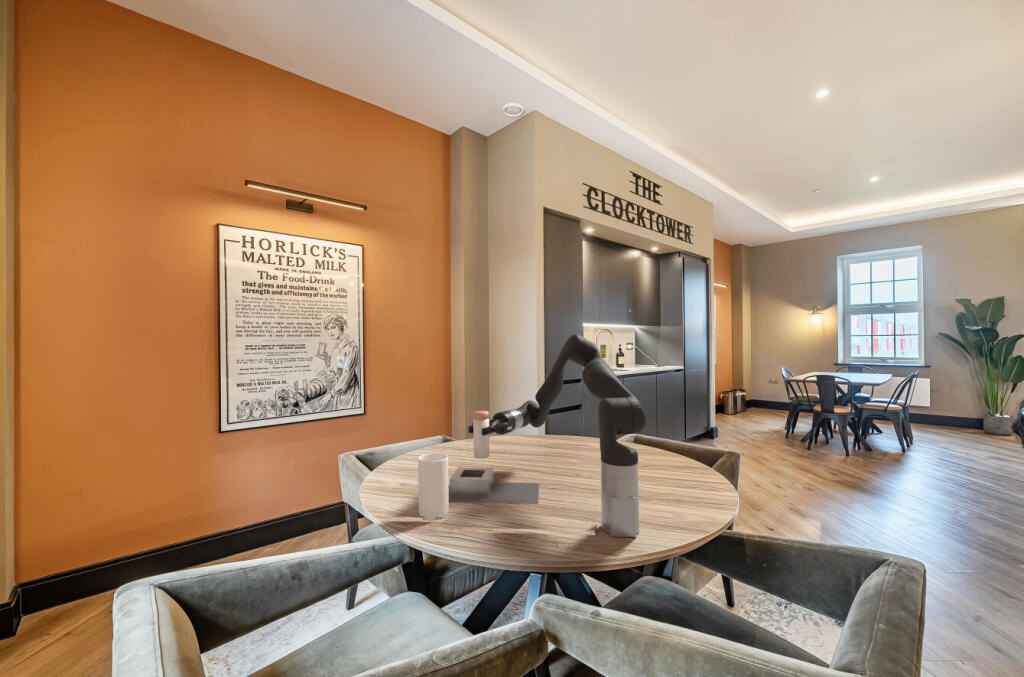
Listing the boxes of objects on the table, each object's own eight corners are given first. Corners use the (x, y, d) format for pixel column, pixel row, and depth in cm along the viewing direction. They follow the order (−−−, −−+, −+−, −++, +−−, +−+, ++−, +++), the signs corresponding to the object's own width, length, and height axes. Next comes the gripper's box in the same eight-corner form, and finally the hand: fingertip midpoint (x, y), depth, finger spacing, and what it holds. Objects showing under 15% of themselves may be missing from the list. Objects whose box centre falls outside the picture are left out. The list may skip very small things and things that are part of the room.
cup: (445, 506, 118) (444, 451, 118) (451, 517, 111) (451, 459, 111) (416, 511, 115) (416, 454, 115) (421, 523, 108) (420, 462, 108)
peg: (488, 458, 126) (487, 413, 126) (472, 458, 127) (471, 413, 127) (490, 453, 131) (489, 410, 131) (475, 453, 132) (474, 410, 132)
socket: (488, 496, 123) (488, 480, 123) (449, 495, 124) (449, 479, 124) (493, 482, 135) (493, 467, 135) (458, 482, 136) (458, 467, 136)
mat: (538, 507, 117) (538, 503, 117) (443, 505, 119) (443, 501, 119) (538, 486, 134) (538, 483, 134) (455, 484, 136) (455, 481, 136)
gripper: (491, 408, 145) (458, 416, 131) (524, 412, 136) (493, 421, 123) (491, 429, 145) (459, 439, 131) (525, 434, 137) (493, 446, 123)
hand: (476, 431), depth 127 cm, fingers closed on peg, 5 cm apart
